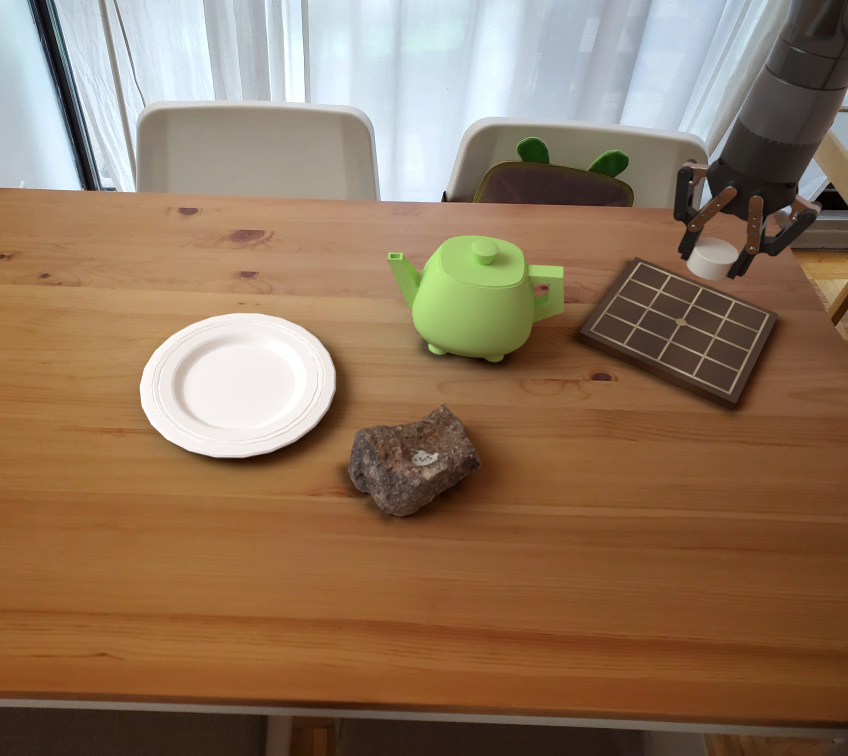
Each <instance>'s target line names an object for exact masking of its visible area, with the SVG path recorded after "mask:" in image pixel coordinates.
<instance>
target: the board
mask: <svg viewBox="0 0 848 756" xmlns="http://www.w3.org/2000/svg"><path fill="white" fill-rule="evenodd" d="M778 317H779V313H778V312H775V311H772V310H770V309H768V308H765V307H762V306H760V305H757V304H755V303H753V302H750V301H747V300H745V299H742V298H741V297H738V296H736V295H732V294H729V292H728V293H727V292H725V291H723V290H720V289H718V288H715V287H713V286H710V285H707V284H705V283H702V282H700V281H698V280H695V279H693V278H690V277H688V276H685V275H682V274H681V273H678V272H675V271H673V270H670V269H667V268H665V267H663V266H660V265H658V264H655V263H652V262H650V261H647V260H646V259H643V258H640V257H638V256H635V257H634V258H633V260H632V261H631V262H630V264H629V265H628V266H627V268H626V269H625V270H624V271H623V273H622V274H621V276H620V277H619V278H618V279H617V281H616V282H615V284H614V285H613V286H612V288H611V289H610V290H609V292H608V293H607V294H606V296H605V297H604V299H602V301H601V302H600V304H599V305H598V307H597V308H596V309H595V310H594V311H593V312H592V314H591V316H590V317H589V319H588V320H587V321H586V322H585V324H584V325H583V326H582V328H580V329H581V330H579V332H578V334H577V337H576V340H577V341H579V342H582V343H584V344H586V345H588V346H590V347H593V348H595V349H597V350H599V351H601V352H604V353H606V354H608V355H610V356H612V357H613V358H614V357H615V358H616V359H618V360H621V361H623V362H625V363H627V364H629V365H632V366H633V367H636V368H638V369H641V370H643V371H645V372H647V373H649V374H651V375H654V376H655V377H657V378H660V379H662V380H664V381H666V382H669V383H670V384H673V385H675V386H677V387H679V388H681V389H683V390H685V391H687V392H690V393H693V394H694V395H696V396H699V397H701V398H703V399H705V400H707V401H709V402H712V403H714V404H716V405H718V406H721V407H722V408H725V409H727V410H729V411H732V410H733V408H734V407H735V406H736V404H737V403H738V399H739V397H740V396H741V394H742V392H743V389H744V388H745V386H746V383H747V382H748V380H749V377H750V375H751V373H752V370H753V368H754V367H755V364H756V363H757V360H758V358H759V356H760V354H761V352H762V350H763V348H764V346H765V344H766V342H767V339H768V338H769V335H770V333H771V332H772V329H773V326H774V325H775V323H776V321H777V318H778Z"/></svg>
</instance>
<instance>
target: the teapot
mask: <svg viewBox="0 0 848 756" xmlns="http://www.w3.org/2000/svg"><path fill="white" fill-rule="evenodd" d="M387 263H388V265H389V267H390V270H391V273H392V275H393V276H394V278H395V281H396V283H397V286H398V288H399V290H400V292H401V294H402V296H403V298H404V300H405V303H406V305H407V307H408V308H409V309H411V316H412V322H413V325H414V327H415V330H416V331H417V332H418V334H419V335H420V336H421V337H422V339H423V340H424V341H425V342H426V343H427V344H428V349H429V351H430V352H431V353H433V354H434V355H438V356H439V355H440V356H442V355H445V354H447V353H450V354H452V355H456V356H462V357H467V358H484V359H485V361H488V362H491V363H497V362H500V361H503V359H504V357H505V355H507V354H509V353H512V352H514V351H516V350H517V349H519V348H520V347H522V346H523V345H524V344H526V341H527V340H528V339H529V337H530V335H531V331H532V328H533V323H536V322H539V321H542V320H544V319H545V320H546V319H548V318H550V317H554V316H557V315H558V314H562V313H565V277H564V275H565V274H564V273H565V272H564V270H565V269H564V266H561V265H542V264H528V261H527V259H526V256H525V254H524V252H523V250H522V249H521V248H520V247H518V246H517V245H515V244H514V243H512V242H509V241H507V240H503V239H500V238H496V237H493V236H492V237H491V236H484V235H483V236H482V235H458V236H453V237H450V238H448V239H446V240H445V241H444V242H442V244H441V245H440V246H438V248H437V249H436V250H435V251H434V252H433V254H432V255H431V256H430V258H429V259H428V260H427V262H425V265H424V267H423V268H422V270H421V271H418V270H417V269H416V268H415V267H414V265H412V263H411V262H410V261H409V260H408V258H406V257H405V255H404V252H395V251H394V252H392V251H391V252H390V251H389V252H388V253H387ZM534 285H548V293H545V294H541V295H539V296H535V288H534V287H535V286H534Z"/></svg>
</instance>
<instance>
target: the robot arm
mask: <svg viewBox="0 0 848 756" xmlns="http://www.w3.org/2000/svg"><path fill="white" fill-rule="evenodd" d="M847 92H848V0H790V1H789V6H788V11H787V15H786V19H785V20H784V23H783V25H782V27H781V29H780V31H779V33H778V35H777V38H776V40H775V42H774V44H773V46H772V47H771V51H770V53H769V54H768V57H767V59H766V62H765V63H764V65H763V67H762V69H761V71H760V73H759V74H758V75H757V77H756V79H755V80H754V82H753V83H752V86H751V87H750V89H749V91H748V94H747V96H746V98H745V99H744V102H743V105H742V107H741V109H740V110H739V113H738V115H737V118H736V120H735V121H734V124H733V126H732V129H731V130H730V133H729V134H728V136H727V139H726V141H725V143H724V146H723V148H722V150H721V153H720V155H719V156H718V158H717V159H715V160H714V161H712V163H710V164H704V163H698V161H697V160H696V159H694V158H688V159H686V161H685V162H684V163H683V165H681V167H680V169H678V171H677V173H676V183H675V192H674V193H675V195H674V204H673V215H672V216H673V220H675V221H676V222H682V223H683V224H684V225H685V227H686V228H685V232H684V234H683V236H682V238H681V240H680V242H679V245H678V246H677V253H679V254H681V255H680V260H683V261H685V262H687V259H688V257H689V255H690V253H691V251H692V249H693V247H694V245H695V243H696V241H698V240H699V239H700V237H701V235H702V232H703V231H704V229H705V226H706V224H707V223H708V222H709V221H711V220H712V219H713V218H714V217H715V216H716V215H717V214H718V213H721V214H725V215H730V216H735V217H736V218H737V219H739V220H741V221H744V222H746V223H747V225H746V235H747V236H746V242H745V244H744V246H743V247H742V249H741V251H740V253H739V257H738V258H737V260H736V262H735V264H734V266H733V268H732V270H731V271H730V273H729V275H728V277H727V279H731V280H733V281H734V280H735V278H736V277H740V278H742V277H743V276H744V275H746V273H747V271H748V269H749V268H750V266H751V264H752V262H753V261H754V259H755V257H756V256H757V255H759V254H766V255H768V256H769V257H777V256H779V255H780V254H781V253H782V252H783V251H784V250H785V249H787V247H788V246H789V245H791V244H792V243H793V242H794V241H795V240H796V239H797V238H798V237H800V236H801V235H802V234H803V233H804V232H805V231H806V230H807V229H808V228H810V227H811V225H813V224H814V223H815V222H816V220H817V218H818V217H819V214H820V213H821V211H822V208H823V205H822V203H821V202H819V201H818V200H817V201H816V200H813V201H811V202H810V201H808V200H807V199H805V198H804V197H803V196H801V195H800V194H799V192H800V190H799V189H800V188H799V183H800V181H801V179H802V178H803V175H804V174H805V172H806V170H807V168H808V167H809V165H810V163H811V161H812V159H813V158H814V156H815V154H816V153H817V151H818V149H819V147H820V145H821V143H822V142H823V140H824V139H825V136H826V135H827V133H828V131H829V130H830V128H831V127H832V126H833V124H834V123H835V119H836V117H837V115H838V113H839V111H840V109H841V107H842V105H843V103H844V100H845V97H846V95H847ZM703 178H705V179H706V182H707V185H708V188H709V192H710V195H711V198H709V200H707V202H706V203H705V204H704V205H702V207H701V208H700V209H699V210H697V209H695V208H694V207H693V204H694V197H695V187H697V186H698V185H699V184H700V182H702V180H703ZM788 207H790V209H791V211H790V213H789V215H788V219H789V222H787V224H786V225H784V227H782V228H781V229H780V230H779V231H778V232H777V233H776V234H775V235H774V236H769V235H766V233H767V227H768V223H769V220H770V219H769V218H770V216H771V215H772V214H775V213H777V212H779V211H781V210H783V209H785V208H788Z"/></svg>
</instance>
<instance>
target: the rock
mask: <svg viewBox="0 0 848 756" xmlns="http://www.w3.org/2000/svg"><path fill="white" fill-rule="evenodd" d="M353 438H354V439H353V443H352V447H351V450H350V454H349V457H350V459H349V465H348V466H347V473H348V474H349V477H350V480H351V481H352V483H353V485H354V486H355V488H356V489H357V490H358V491H360V492H362V493H368V494H369V495H370V497H372V499H373V501H374V502H375V505H377V506H378V507H379V508H380V509H381V510H382V511H383V512H384V513H385V514H387V515H393V516H396V517H405V516H408V515H412V514H415V513H417V511H419V510H420V508H422V507H423V506H425V505H427V504H428V503H430V502H432V501H433V500H434V498H436V497H437V496H438V495H440V494H441V493H442V492H445V491H446V490H447V489H450V488H452V487H453V486H456V484H457V483H458V482H459V481H461V480H463V478H464V477H466V476H468V475H469V476H470V475H473V474H474V473H476V472H477V471H478V470H480V469H481V466H482V463H481V460H480V456H479V455H480V454H479V453H478V452H477V449H476V448H475V446H474V443H473V442H472V441H471V440H470V439H469V438H468V436H467V433H466V428H465V427H464V424H463V422H462V421H461V419H460V417H458V416H457V415H456V414H454V413H453V412H452V409H450V407H448V406H447V404H446V403H445V402H441V403H440V404H439V405H438V406H437V407H435V408H434V409H433V410H432V411H431V412H430V413H428V414H426V415H424V416H422V417H420V418H419V419H418V420H415V421H413V422H408V423H405V424H403V423H402V424H397V425H385V424H381V425H372V426H370V427H364V428H359V429H358V430H357V431H355V434H354V437H353Z"/></svg>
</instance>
